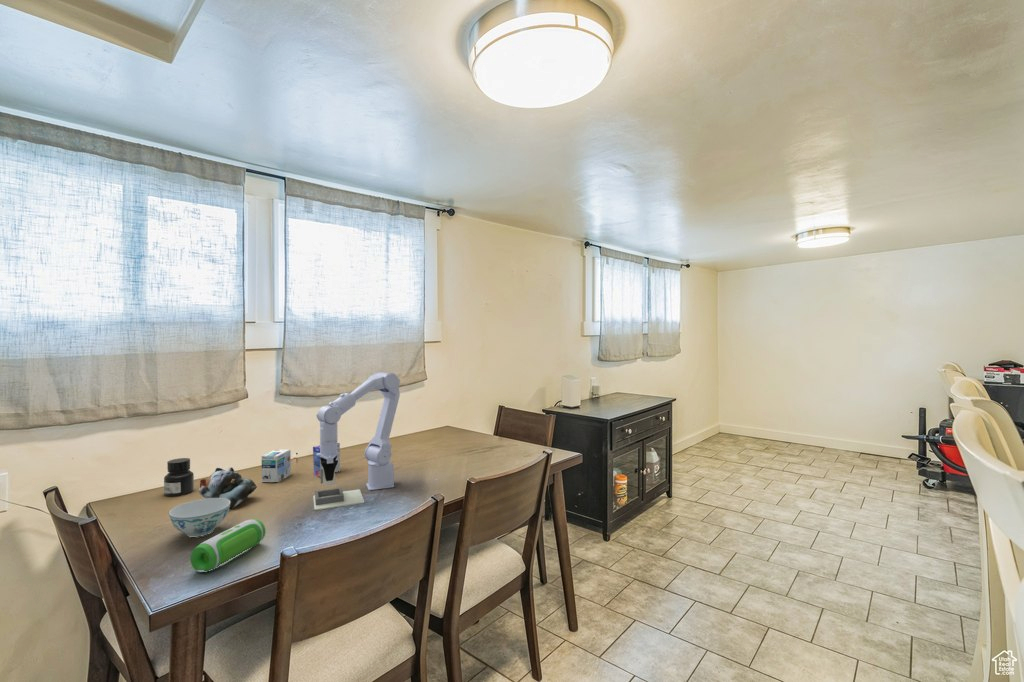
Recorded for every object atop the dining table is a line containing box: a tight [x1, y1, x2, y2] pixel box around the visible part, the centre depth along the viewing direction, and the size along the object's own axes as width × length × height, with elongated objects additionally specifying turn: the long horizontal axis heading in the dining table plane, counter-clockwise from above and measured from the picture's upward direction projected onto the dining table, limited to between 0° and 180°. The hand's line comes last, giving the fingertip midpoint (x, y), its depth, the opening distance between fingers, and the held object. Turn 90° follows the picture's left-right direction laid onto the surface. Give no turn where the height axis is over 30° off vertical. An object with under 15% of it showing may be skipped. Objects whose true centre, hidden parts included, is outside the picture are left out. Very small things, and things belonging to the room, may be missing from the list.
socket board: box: [312, 487, 365, 512], centre depth 161 cm, size 16×14×2 cm
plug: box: [320, 467, 336, 487], centre depth 160 cm, size 5×4×6 cm
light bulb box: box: [261, 448, 292, 483], centre depth 185 cm, size 11×7×11 cm, turn 179°
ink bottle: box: [163, 457, 195, 497], centre depth 169 cm, size 10×9×12 cm
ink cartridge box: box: [312, 442, 341, 478], centre depth 192 cm, size 10×6×14 cm, turn 148°
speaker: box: [190, 518, 266, 572], centre depth 120 cm, size 18×7×8 cm, turn 166°
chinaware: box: [168, 498, 230, 537], centre depth 135 cm, size 15×15×8 cm
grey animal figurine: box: [198, 466, 258, 510], centre depth 157 cm, size 15×12×14 cm
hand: (329, 478), depth 161 cm, fingers closed on plug, 4 cm apart
